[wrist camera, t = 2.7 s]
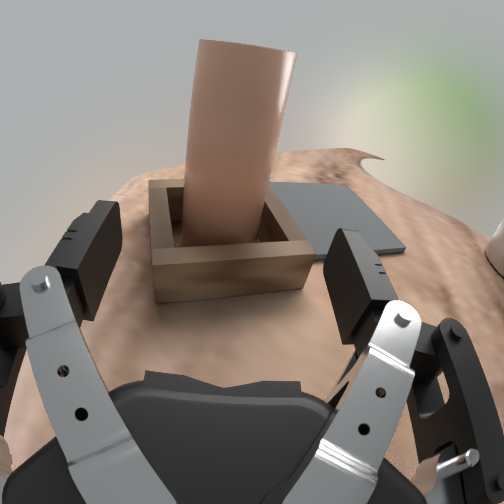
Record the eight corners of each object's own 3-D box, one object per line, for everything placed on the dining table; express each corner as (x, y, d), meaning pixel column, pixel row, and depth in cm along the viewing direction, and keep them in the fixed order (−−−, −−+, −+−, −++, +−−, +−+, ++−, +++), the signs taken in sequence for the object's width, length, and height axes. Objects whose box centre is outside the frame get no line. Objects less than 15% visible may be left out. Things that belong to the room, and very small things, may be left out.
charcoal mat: (345, 189, 39) (346, 185, 39) (403, 251, 30) (406, 247, 30) (254, 186, 35) (254, 181, 35) (299, 261, 26) (301, 255, 25)
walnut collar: (259, 209, 31) (265, 179, 29) (302, 288, 23) (316, 253, 21) (148, 213, 28) (148, 180, 25) (155, 303, 20) (152, 265, 18)
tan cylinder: (254, 275, 24) (305, 55, 14) (176, 267, 23) (192, 39, 13) (251, 215, 30) (284, 50, 20) (189, 208, 29) (208, 39, 19)
